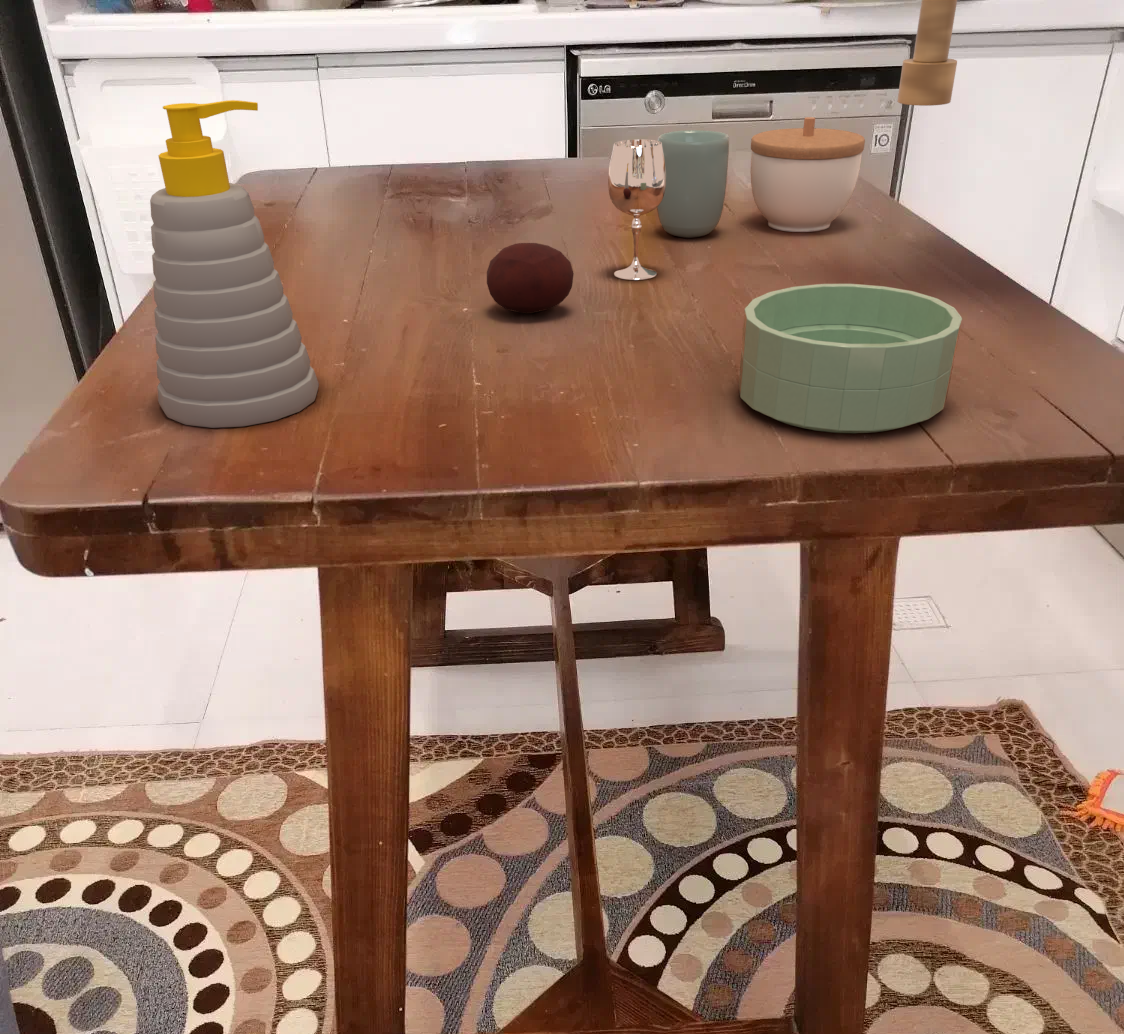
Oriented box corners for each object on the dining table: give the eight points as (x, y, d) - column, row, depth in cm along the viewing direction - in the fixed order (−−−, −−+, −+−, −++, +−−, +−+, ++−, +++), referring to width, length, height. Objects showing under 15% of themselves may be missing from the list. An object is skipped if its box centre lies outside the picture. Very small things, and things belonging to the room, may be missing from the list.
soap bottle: (327, 417, 84) (279, 110, 71) (157, 437, 81) (77, 123, 69) (313, 365, 93) (268, 87, 81) (161, 381, 91) (91, 97, 78)
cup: (642, 237, 126) (644, 138, 120) (676, 223, 131) (680, 128, 125) (702, 245, 122) (707, 144, 116) (734, 230, 127) (741, 133, 121)
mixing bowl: (921, 366, 90) (936, 283, 86) (964, 439, 78) (984, 346, 74) (732, 366, 91) (738, 284, 87) (745, 438, 79) (753, 346, 75)
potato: (539, 329, 100) (537, 259, 96) (470, 314, 104) (465, 246, 100) (586, 309, 104) (586, 241, 101) (518, 295, 108) (515, 230, 105)
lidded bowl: (803, 208, 136) (814, 105, 129) (876, 227, 127) (892, 118, 120) (723, 222, 131) (729, 116, 124) (793, 243, 122) (805, 131, 115)
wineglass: (612, 266, 116) (613, 138, 109) (666, 267, 115) (671, 138, 108) (603, 280, 112) (603, 148, 104) (659, 282, 111) (663, 149, 103)
